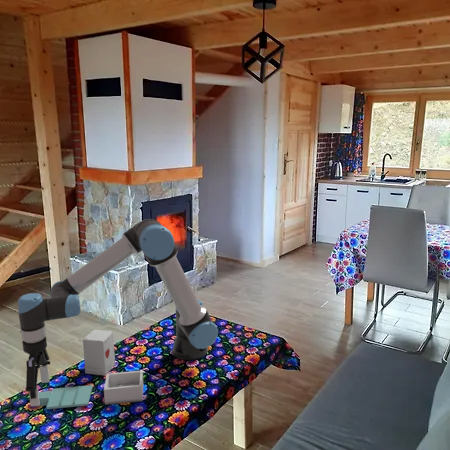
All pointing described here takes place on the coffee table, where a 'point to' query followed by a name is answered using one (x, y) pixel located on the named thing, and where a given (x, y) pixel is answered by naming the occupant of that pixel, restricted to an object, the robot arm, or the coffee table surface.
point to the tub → (123, 387)
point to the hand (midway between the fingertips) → (40, 393)
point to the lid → (65, 397)
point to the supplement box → (99, 352)
